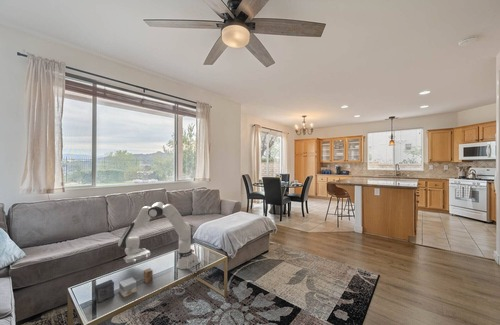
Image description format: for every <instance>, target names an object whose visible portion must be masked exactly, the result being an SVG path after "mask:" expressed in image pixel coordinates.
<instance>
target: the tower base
mask: <svg viewBox="0 0 500 325" xmlns="http://www.w3.org/2000/svg"><path fill="white" fill-rule="evenodd" d="M137 287H138V286H137ZM137 287H135V288H133V289H131V290H128V291H126V292H123V291H122V290H121V289H120V288H119V287H118V288H119V289H118V290H119V294H120V295H121V296H122V297H123V298H125V297H128V296H130V295H132V294H135V293H136V291H138V290H137Z"/></svg>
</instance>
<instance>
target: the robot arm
mask: <svg viewBox="0 0 500 325" xmlns="http://www.w3.org/2000/svg"><path fill="white" fill-rule="evenodd" d="M163 215H164V217H166V219H167V220H168V222H170V224H171V226H172V227H173V229H174V231H175V232H176V234H177V235H178V251H177V258H178V259H177V263H176V268H177V269H181V270H185V269H187V270H190V269H192V268H193V266H194V267H195V266H197V265H198V264H200V263H201V259H200V258H199V257H198V255H197V254H196V253H194V252H195V250H194V249H192V248H191V241H192V240H191V234H192V227H191V224H189V222H186V221H185V220H184V218H183V216H182V215H181V213H180V212H179V210H178V209H177V208H176V207H175V206H174V205H173V204H171V203H167V204H166V203H165V202H164V201H163V200H159V201H156V202H155V203H153V204H151V206H149V205H147V206H146V205H145V206H143V207H141V209H140V210H139V213H138V214H137V216H136V218H135V219H134V221H131V222H130V224H128V226H127V228H126V229H125V231H124V233H123V234H122V235H121V237H120V238H119V240H118V241H117V242H118V243H117V247H118V248H119V249H121V250H123V249H124V253H125V255H126V256H124V257H123V260H124V261H125V263H126V264H129V263H137V262H138V261H139V260H141V259H148V258H149V257H150V256H151V251H150V250H149V249H146V248H144V247H142V248H140V247H141V244H142V239H141V238H140V236H139V235H138V236H131V234H132V233H133V232H134V231H135V230H138V229H141V228H144V227H146V226H147V225H148V224H149V223H150V220H151V218H152V219H153V218H158V217H161V216H163Z"/></svg>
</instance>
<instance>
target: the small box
mask: <svg viewBox="0 0 500 325" xmlns="http://www.w3.org/2000/svg"><path fill="white" fill-rule="evenodd" d="M113 297H115V282H114V281H113V279H109V280H106V281H104V282H101V283H99V284H96V285H95V286H94V300H95V303H96V304H100V303H102V302H104V301H107V300H109V299H111V298H113Z"/></svg>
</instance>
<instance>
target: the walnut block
mask: <svg viewBox="0 0 500 325" xmlns="http://www.w3.org/2000/svg"><path fill="white" fill-rule="evenodd" d="M143 282H144V283H145V284H149V283H150V282H153V269H152V268H150V267H149V268H147V269H144V270H143Z"/></svg>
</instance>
